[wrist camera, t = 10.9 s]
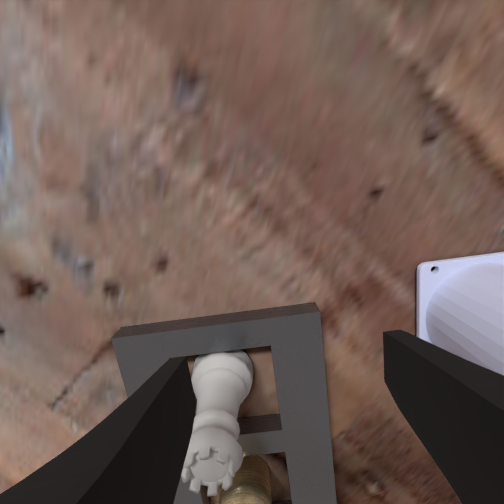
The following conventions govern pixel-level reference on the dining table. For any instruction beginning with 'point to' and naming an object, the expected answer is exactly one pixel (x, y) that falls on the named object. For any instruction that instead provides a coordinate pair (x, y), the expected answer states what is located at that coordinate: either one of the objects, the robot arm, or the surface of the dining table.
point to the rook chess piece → (217, 419)
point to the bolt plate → (260, 427)
